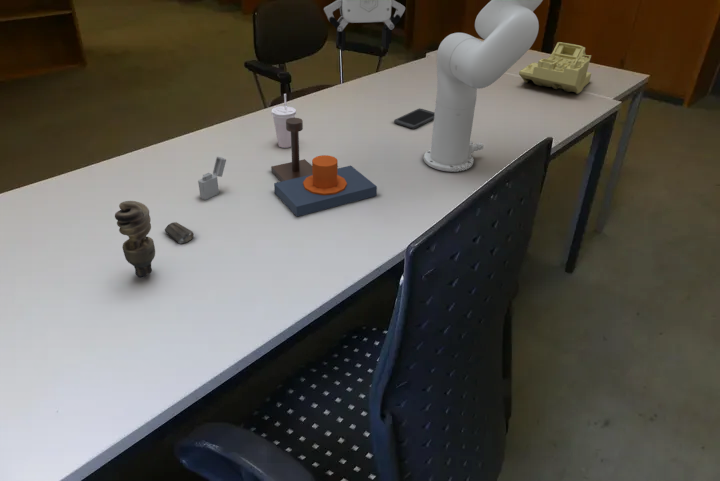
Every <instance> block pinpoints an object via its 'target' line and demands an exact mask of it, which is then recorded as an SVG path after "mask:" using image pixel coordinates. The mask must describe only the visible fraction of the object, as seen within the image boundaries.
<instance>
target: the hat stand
mask: <svg viewBox="0 0 720 481" xmlns="http://www.w3.org/2000/svg"><path fill="white" fill-rule="evenodd" d="M303 121H304V120H303V119H302V118H300V117H295V118H289V119H287V120H286V130H287V131H290V132H291V147H290V149H291V151H290V152H291V162H286V163H280V164H277V165H271V167H270V170H271V173H272V174H273V175H274V176H275V177H276V178H277V180H279V182H281V181H286V180H290V179H294V178H299V177H303V176H307V175H312V174H313V173H312V164H311V163H310V162H308V160H306V159H305V158H303V159H300V132H301V131H303V129H304V125H303Z"/></svg>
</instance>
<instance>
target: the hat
mask: <svg viewBox="0 0 720 481" xmlns="http://www.w3.org/2000/svg"><path fill="white" fill-rule="evenodd" d="M311 163H312V164H311V165H312V173H313V175H311V176H309V177H307V178H306V179H305V180H304V182H303V185H304V188H305V190H307V191H309V192H311V193H313V194H319V195H332V194H337V193H339V192H341V191H343V190H344V189H345V188H346V186H347V183H346V181H345V179H344V178H343V177H341V176H339V175H337V172H338V168H339V167H338V164H339V162H338V159H337V157H335V156H333V155H326V154H325V155H324V154H323V155H317V156H315V157H313V158H312V160H311Z"/></svg>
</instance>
